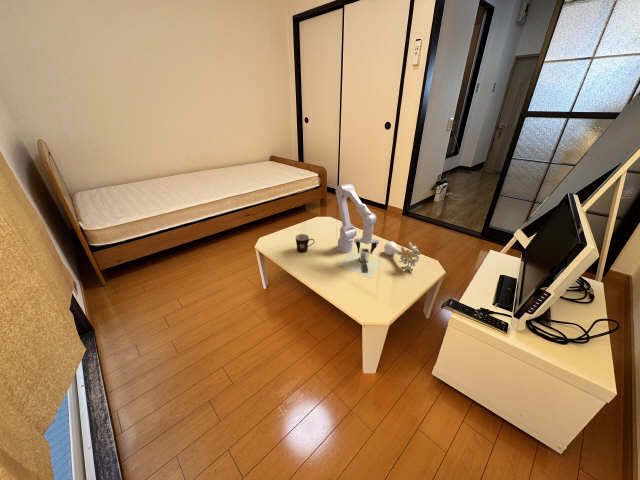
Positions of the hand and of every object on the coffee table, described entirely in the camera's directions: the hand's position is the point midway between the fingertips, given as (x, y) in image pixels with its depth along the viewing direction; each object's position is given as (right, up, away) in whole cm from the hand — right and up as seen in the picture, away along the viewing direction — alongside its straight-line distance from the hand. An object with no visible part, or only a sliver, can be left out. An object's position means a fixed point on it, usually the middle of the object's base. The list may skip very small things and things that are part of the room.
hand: (364, 253), depth 152 cm
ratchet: (0, -7, -1) cm, 7 cm away
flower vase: (+22, -6, +4) cm, 23 cm away
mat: (-3, -7, -1) cm, 8 cm away
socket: (0, -4, +2) cm, 4 cm away
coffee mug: (-38, +1, +11) cm, 40 cm away
